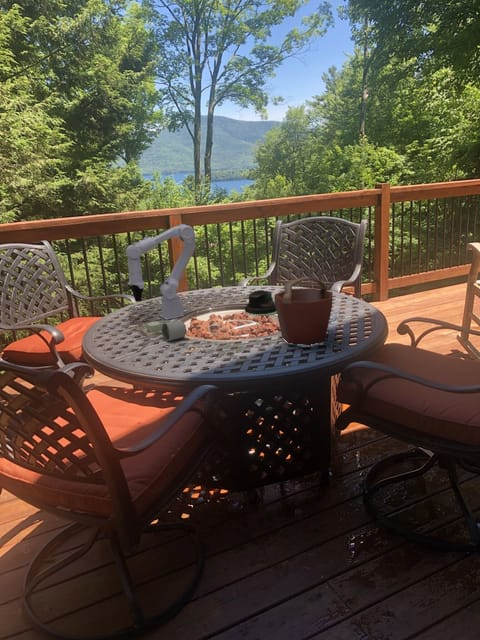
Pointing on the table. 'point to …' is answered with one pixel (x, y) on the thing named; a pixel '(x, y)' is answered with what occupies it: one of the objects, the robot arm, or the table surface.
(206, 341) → the table surface
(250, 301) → the dark fedora hat
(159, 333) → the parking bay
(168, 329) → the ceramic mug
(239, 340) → the table surface
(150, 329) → the sage block
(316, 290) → the bucket
